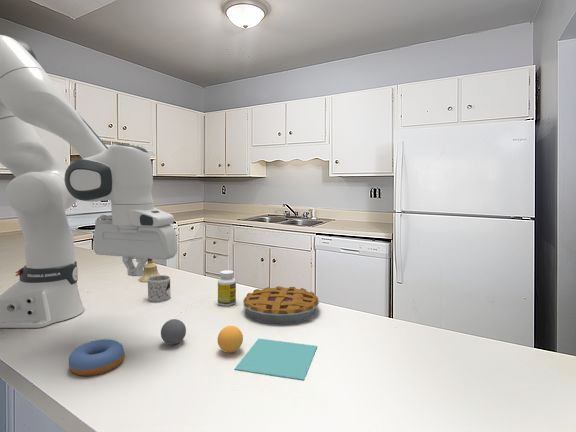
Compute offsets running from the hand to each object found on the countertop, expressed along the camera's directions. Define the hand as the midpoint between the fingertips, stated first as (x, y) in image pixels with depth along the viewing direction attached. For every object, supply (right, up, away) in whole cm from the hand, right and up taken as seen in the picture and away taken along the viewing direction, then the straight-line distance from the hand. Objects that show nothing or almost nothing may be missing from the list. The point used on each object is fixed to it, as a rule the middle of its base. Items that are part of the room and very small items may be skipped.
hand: (135, 275), depth 82 cm
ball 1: (+9, -13, -1) cm, 16 cm away
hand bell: (-16, -10, +51) cm, 55 cm away
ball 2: (+23, -13, -5) cm, 27 cm away
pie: (+33, -14, +20) cm, 41 cm away
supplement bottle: (+17, -13, +26) cm, 33 cm away
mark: (+33, -16, -7) cm, 38 cm away
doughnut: (-3, -17, -10) cm, 20 cm away
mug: (-6, -12, +31) cm, 34 cm away
